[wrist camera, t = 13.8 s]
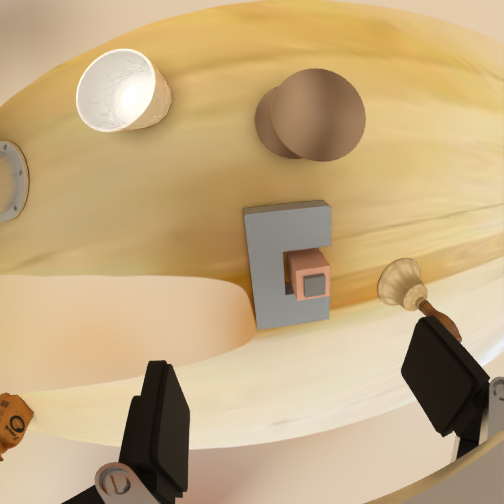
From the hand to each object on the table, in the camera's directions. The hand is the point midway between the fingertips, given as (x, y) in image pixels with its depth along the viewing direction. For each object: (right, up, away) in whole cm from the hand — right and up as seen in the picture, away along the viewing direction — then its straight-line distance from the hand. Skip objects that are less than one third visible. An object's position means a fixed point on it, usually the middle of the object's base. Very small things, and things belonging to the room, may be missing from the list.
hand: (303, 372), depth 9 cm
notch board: (+3, +3, +28) cm, 28 cm away
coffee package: (-70, -39, +40) cm, 90 cm away
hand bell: (+21, 0, +31) cm, 38 cm away
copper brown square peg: (+5, +3, +28) cm, 29 cm away
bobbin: (+3, +20, +21) cm, 29 cm away
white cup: (-14, +22, +19) cm, 32 cm away
